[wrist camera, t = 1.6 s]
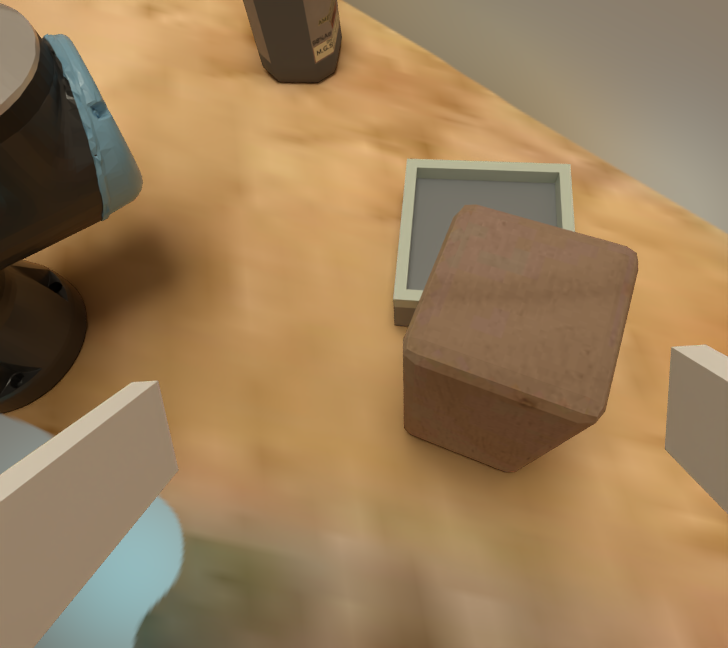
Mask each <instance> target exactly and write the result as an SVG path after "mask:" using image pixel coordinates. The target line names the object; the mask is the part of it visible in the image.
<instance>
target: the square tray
mask: <svg viewBox="0 0 728 648" xmlns="http://www.w3.org/2000/svg"><path fill="white" fill-rule="evenodd" d="M475 204H476V205H480V206H483V207H487V208H491V209H494V210H498V211H501V212H505V213H509V214H512V215H516V216H519V217H523V218H527V219H530V220H534V221H537V222H541V223H544V224H548V225H552V226H555V227H559V228H562V229H566V230H570V231H573V232H575V226H574V211H573V197H572V182H571V167H570V164H550V163H520V162H489V161H459V160H429V159H407V165H406V175H405V186H404V196H403V206H402V216H401V226H400V236H399V246H398V257H397V267H396V277H395V287H394V297H393V303H394V323H395V325H398V326H409V324H410V322H411V319H412V317H413V315H414V312H415V310H416V307H417V305H418V302H419V300H420V298H421V295H422V293H423V290H424V288H425V285H426V283H427V280H428V278H429V276H430V273H431V271H432V268H433V266H434V263H435V261H436V258H437V256H438V254H439V251H440V249H441V246H442V244H443V241H444V239H445V237H446V234H447V232H448V229H449V227H450V224H451V222H452V219H453V217H454V216H455V215H456V214H457V213H458V212H459V211H460V210H461V209H462V208H463V207H464V205H475Z"/></svg>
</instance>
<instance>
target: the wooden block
mask: <svg viewBox="0 0 728 648" xmlns="http://www.w3.org/2000/svg"><path fill="white" fill-rule="evenodd" d="M637 272H638V259H637V253H636V252H634V251H633V250H631V249H630V248H628V247H627V246H624V245H620V244H616V243H613V242H609V241H606V240H602V239H598V238H595V237H591V236H588V235H584V234H580V233H577V232H573V231H570V230H566V229H562V228H559V227H555V226H552V225H548V224H544V223H541V222H537V221H534V220H530V219H527V218H523V217H519V216H516V215H512V214H509V213H505V212H501V211H498V210H494V209H491V208H487V207H483V206H480V205H476V204H475V205H464V207H463V208H462V209H461V210H460V211H459V212H458V213H457V214H456V215H455V216H454V217H453V219H452V222H451V224H450V227H449V229H448V232H447V234H446V237H445V239H444V241H443V244H442V246H441V249H440V251H439V254H438V256H437V258H436V261H435V263H434V266H433V268H432V271H431V273H430V276H429V278H428V280H427V283H426V285H425V288H424V290H423V293H422V295H421V298H420V300H419V302H418V305H417V307H416V310H415V312H414V315H413V317H412V319H411V322H410V324H409V327H408V329H407V332H406V334H405V337H404V339H403V385H404V428H405V429H406V430H407V431H408V432H409V433H410V434H411V435H414V436H416V437H419V438H421V439H424V440H426V441H429V442H431V443H434V444H436V445H439V446H441V447H444V448H446V449H449V450H451V451H454V452H456V453H459V454H461V455H464V456H467V457H469V458H472V459H474V460H477V461H479V462H482V463H484V464H487V465H489V466H492V467H494V468H497V469H499V470H502V471H504V472H516V471H517V470H519V469H520V468H522V467H524V466H525V465H527V464H529V463H530V462H532V461H534V460H535V459H537V458H539V457H540V456H542V455H544V454H545V453H547V452H549V451H550V450H552V449H553V448H555V447H557V446H558V445H560V444H562V443H563V442H565V441H567V440H568V439H570V438H572V437H573V436H575V435H577V434H578V433H580V432H582V431H583V430H585V429H587V428H588V427H590V426H591V425H593V424H595V423H596V422H597V421H598V419H599V418H600V417H601V416H602V415H603V413H604V412H605V410H606V405H607V401H608V397H609V392H610V388H611V384H612V380H613V375H614V371H615V367H616V362H617V358H618V354H619V350H620V345H621V341H622V337H623V332H624V328H625V324H626V320H627V315H628V311H629V307H630V302H631V298H632V294H633V290H634V285H635V281H636V277H637Z"/></svg>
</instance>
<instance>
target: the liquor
mask: <svg viewBox="0 0 728 648" xmlns="http://www.w3.org/2000/svg"><path fill="white" fill-rule="evenodd" d="M243 2H244V6H245V9H246V12H247V16H248V19H249V22H250V25H251V29H252V32H253V35H254V39H255V42H256V45H257V49H258V52H259V55H260V59H261V62H262V65H263V67H264V68H265V69H266V70H267V71H268V72H269V73H270V74H272V75H273V76H274V77H275V78H276V79H277V80H278V81H279V82H309V83H318V82H320V81H321V80H323V79H324V78H326V77H328V76H329V75H331V74H332V73H334V71H335V68H336V65H337V59H338V54H339V49H340V44H341V39H342V36H341V28H340V20H339V12H338V4H337V0H243Z"/></svg>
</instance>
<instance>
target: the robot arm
mask: <svg viewBox="0 0 728 648" xmlns="http://www.w3.org/2000/svg"><path fill="white" fill-rule="evenodd" d="M142 184H143V180H142V175H141V173H140V170H139V168H138V166H137V164H136V162H135V160H134V158H133V156H132V154H131V152H130V149H129V147H128V146H127V144H126V142H125V140H124V138H123V136H122V134H121V132H120V130H119V128H118V126H117V124H116V122H115V121H114V119H113V117H112V115H111V113H110V112H109V110H108V108H107V105H106V104H105V102H104V100H103V98H102V96H101V94H100V92H99V90H98V88H97V86H96V84H95V82H94V80H93V78H92V76H91V75H90V73H89V71H88V69H87V67H86V65H85V64H84V62H83V60H82V58H81V56H80V54H79V53H78V51H77V49H76V47H75V46H74V44H73V42H72V41H71V40H70V38H69V37H67V36H66V35H63V34H58V35H48V34H47V35H45V36H44V37H43V38H42V39H41V37H40V36H39V35H38V33H37V32H36V31H35V29H34V28H33V26H32V25H31V24H30V23H29V21H28V20H27V19H26V18H25V17H24V16H23V15H22V14H20V13H19V12H18V11H17V10H15V9H13V8H11V7H9V6H7V5H4V4H1V3H0V413H4V412H8V411H11V410H15V409H17V408H20V407H22V406H24V405H26V404H28V403H30V402H32V401H34V400H35V399H37V398H39V397H40V396H42V395H43V394H44V393H46V392H47V391H48V390H49V389H51V388H52V387H53V386H54V385H55V384H56V383H57V382H58V381H59V380H60V379H61V378H62V377H63V376H64V374H65V373H66V372H67V371H68V369H69V368H70V367H71V365H72V364H73V362H74V360H75V359H76V357H77V355H78V353H79V351H80V348H81V346H82V343H83V340H84V336H85V331H86V310H85V306H84V302H83V300H82V298H81V296H80V294H79V292H78V291H77V290H76V289H75V287H74V286H73V285H71V284H70V283H69V282H68V281H66V280H65V279H64V278H63V277H61V276H60V275H59V274H57V273H56V272H54V271H53V270H51V269H49V268H47V267H45V266H42V265H39V264H36V263H33V262H29V261H26V260H22V259H24V258H26V257H28V256H30V255H32V254H34V253H36V252H38V251H40V250H42V249H45V248H47V247H49V246H51V245H53V244H55V243H57V242H59V241H61V240H63V239H65V238H67V237H69V236H71V235H73V234H75V233H77V232H79V231H81V230H83V229H85V228H87V227H89V226H91V225H93V224H95V223H97V222H99V221H104V220H105V219H107V218H108V217H109V215H110V214H111V213H113V212H115V211H116V210H118V209H120V208H121V207H123V206H125V205H126V204H128V203H130V202H131V201H133V200H135V199H136V197H137V196H138V194H139V193H140V192H141V189H142ZM665 450H666V451H667V452H668V453H669V454H670V455H671V456H672V457H673V458H674V459H675V460H676V461H677V462H678V463H679V464H680V465H681V466H682V467H683V468H684V469H685V470H686V471H687V472H688V474H689V475H690V476H691V477H692V478H693V479H694V480H695V481H696V482H697V483H698V484H699V485H700V486H701V487H702V488H703V489H704V490H705V491H706V492H707V493H708V494H709V495H710V496H711V497H712V498H713V499H714V500H715V501H716V502H717V503H718V504H719V505H720V506H721V507H722V509H723V510H724V511H725V512H726V513H727V514H728V357H727V356H726V355H724V354H722V353H720V352H718V351H716V350H714V349H712V348H711V347H709V346H707V345H693V346H678V347H671V360H670V376H669V391H668V407H667V423H666V439H665ZM177 471H178V466H177V461H176V457H175V453H174V448H173V444H172V440H171V435H170V431H169V426H168V422H167V418H166V413H165V409H164V404H163V400H162V396H161V391H160V387H159V382H158V381H144V382H131V383H130V384H129V385H127V386H126V387H124V388H123V389H121V390H120V391H119V392H117V393H116V394H114V395H113V396H111V397H110V398H109V399H107V400H106V401H104V402H103V403H101V404H100V405H99V406H97V407H96V408H94V409H93V410H92V411H90V412H89V413H87V414H86V415H84V416H83V417H82V418H80V419H79V420H77V421H76V422H74V423H73V424H72V425H70V426H69V427H67V428H66V429H64V430H63V431H62V432H60V433H59V434H57V435H56V436H54V437H53V438H52V439H50V440H49V441H47V442H46V443H44V444H43V445H42V446H40V447H39V448H37V449H36V450H35V451H33V452H32V453H30V454H29V455H27V456H26V457H25V458H23V459H22V460H20V461H19V462H17V463H16V464H15V465H13V466H12V467H10V468H9V469H8V470H6V471H5V472H3V473H2V474H0V648H34V646H35V645H36V644H37V643H38V641H39V640H40V639H41V638H42V636H43V635H44V634H45V633H46V632H47V630H48V629H49V628H50V627H51V625H52V624H53V623H54V622H55V621H56V619H57V618H58V617H59V616H60V614H61V613H62V612H63V611H64V610H65V608H66V607H67V606H68V605H69V603H70V602H71V601H72V600H73V598H74V597H75V596H76V595H77V594H78V592H79V591H80V590H81V589H82V588H83V586H84V585H85V584H86V582H87V581H88V580H89V579H90V578H91V577H92V575H93V574H94V573H95V572H96V570H97V569H98V568H99V567H100V566H101V564H102V563H103V562H104V561H105V559H106V558H107V557H108V556H109V555H110V553H111V552H112V551H113V550H114V548H115V547H116V546H117V545H118V544H119V542H120V541H121V540H122V538H123V537H124V536H125V535H126V534H127V533H128V531H129V530H130V529H131V528H132V526H133V525H134V524H135V523H136V521H137V520H138V519H139V518H140V517H141V515H142V514H143V513H144V512H145V510H146V509H147V508H148V507H149V506H150V504H151V503H152V502H153V501H154V499H155V498H156V497H157V496H158V495H159V493H160V492H161V491H162V490H163V488H164V487H165V486H166V485H167V484H168V482H169V481H170V480H171V479H172V477H173V476H174V475H175V474H176V473H177Z"/></svg>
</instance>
